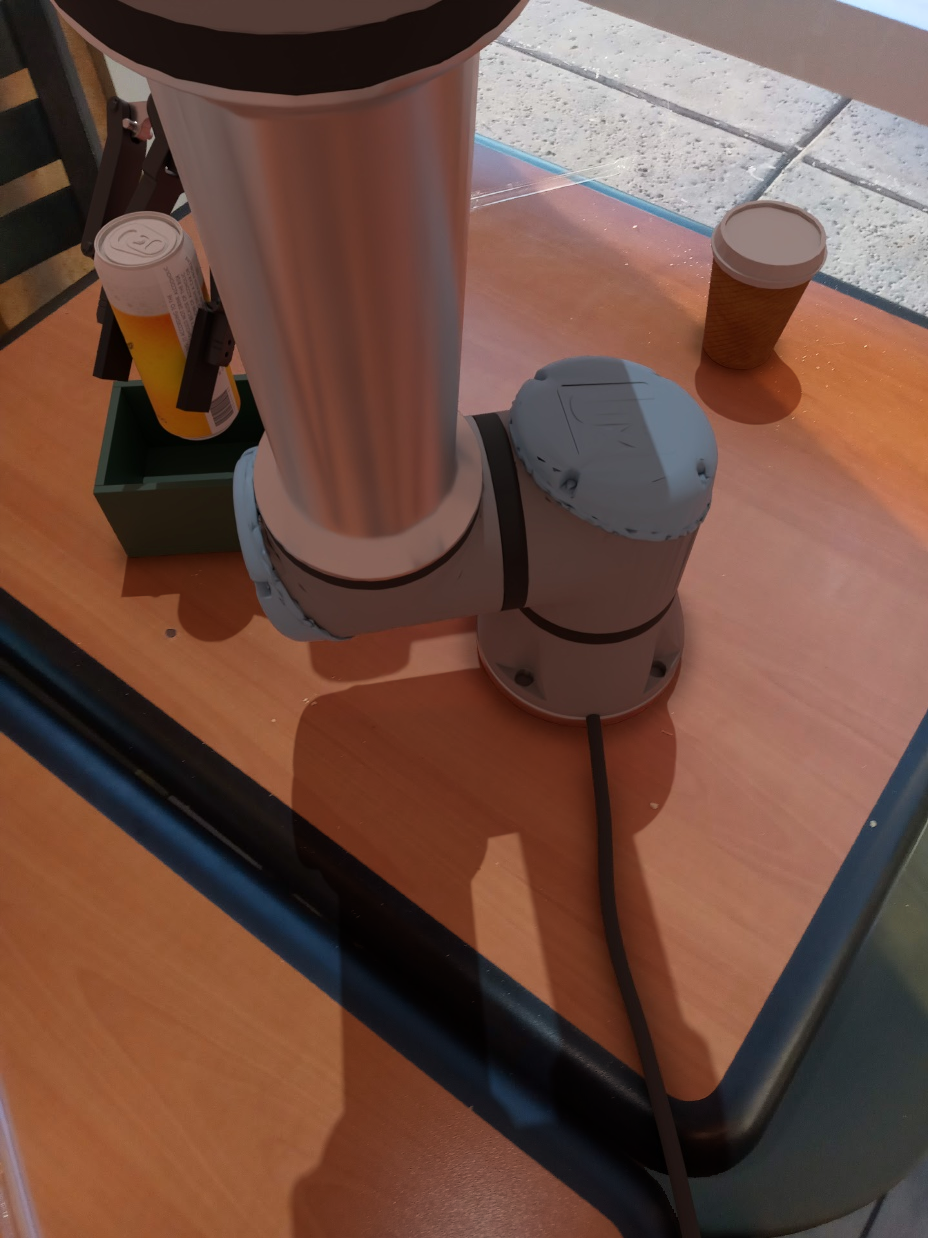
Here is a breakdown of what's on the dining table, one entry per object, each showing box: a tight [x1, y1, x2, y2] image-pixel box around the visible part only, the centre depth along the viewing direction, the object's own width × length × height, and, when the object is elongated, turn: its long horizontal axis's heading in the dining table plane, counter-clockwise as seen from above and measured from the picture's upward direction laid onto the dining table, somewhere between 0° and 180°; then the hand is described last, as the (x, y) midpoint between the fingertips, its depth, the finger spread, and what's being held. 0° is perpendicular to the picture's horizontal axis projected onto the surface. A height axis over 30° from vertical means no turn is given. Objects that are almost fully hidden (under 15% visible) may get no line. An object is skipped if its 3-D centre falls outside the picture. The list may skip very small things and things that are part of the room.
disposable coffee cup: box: [702, 199, 829, 370], centre depth 79 cm, size 10×10×12 cm
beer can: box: [93, 211, 240, 440], centre depth 61 cm, size 6×6×15 cm
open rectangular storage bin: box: [92, 373, 265, 558], centre depth 72 cm, size 11×15×8 cm
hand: (151, 393), depth 61 cm, fingers closed on beer can, 6 cm apart
